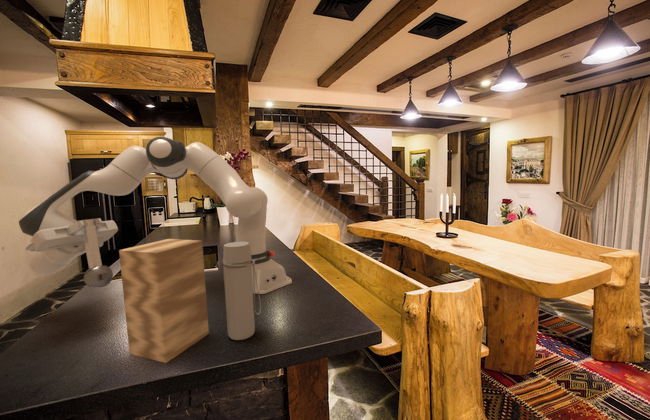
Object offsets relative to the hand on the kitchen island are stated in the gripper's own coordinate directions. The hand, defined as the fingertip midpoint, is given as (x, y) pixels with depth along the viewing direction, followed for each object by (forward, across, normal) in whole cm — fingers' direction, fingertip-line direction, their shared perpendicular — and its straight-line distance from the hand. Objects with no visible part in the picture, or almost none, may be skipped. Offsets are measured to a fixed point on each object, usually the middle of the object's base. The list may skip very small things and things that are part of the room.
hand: (91, 221), depth 85 cm
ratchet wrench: (-6, 0, +7) cm, 10 cm away
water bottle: (+21, +10, +48) cm, 54 cm away
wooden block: (+7, 0, +40) cm, 41 cm away
